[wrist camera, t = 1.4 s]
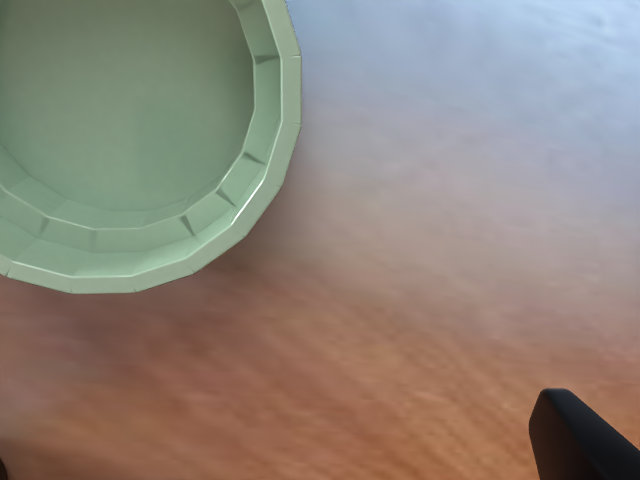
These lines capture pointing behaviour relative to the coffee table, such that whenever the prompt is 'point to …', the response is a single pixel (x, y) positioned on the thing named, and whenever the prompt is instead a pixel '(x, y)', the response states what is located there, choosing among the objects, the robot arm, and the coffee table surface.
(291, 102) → the bowl
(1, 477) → the mug
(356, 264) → the coffee table surface
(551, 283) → the coffee table surface
